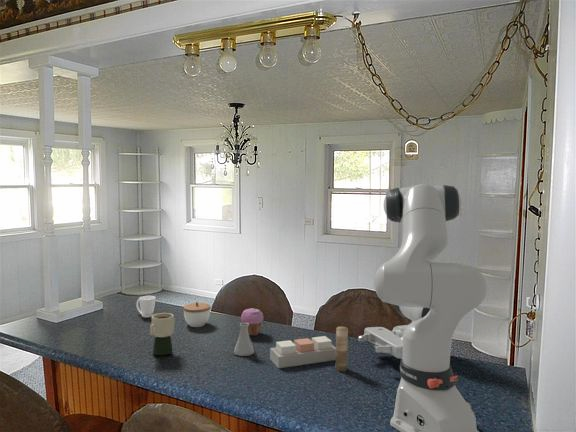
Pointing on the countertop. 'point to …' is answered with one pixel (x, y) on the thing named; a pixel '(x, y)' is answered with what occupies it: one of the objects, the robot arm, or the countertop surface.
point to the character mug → (162, 332)
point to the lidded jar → (196, 314)
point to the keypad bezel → (302, 357)
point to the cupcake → (252, 320)
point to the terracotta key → (304, 345)
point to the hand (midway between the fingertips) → (367, 344)
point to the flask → (244, 342)
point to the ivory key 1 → (285, 347)
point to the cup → (146, 305)
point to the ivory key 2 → (322, 343)
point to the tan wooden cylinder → (341, 348)
